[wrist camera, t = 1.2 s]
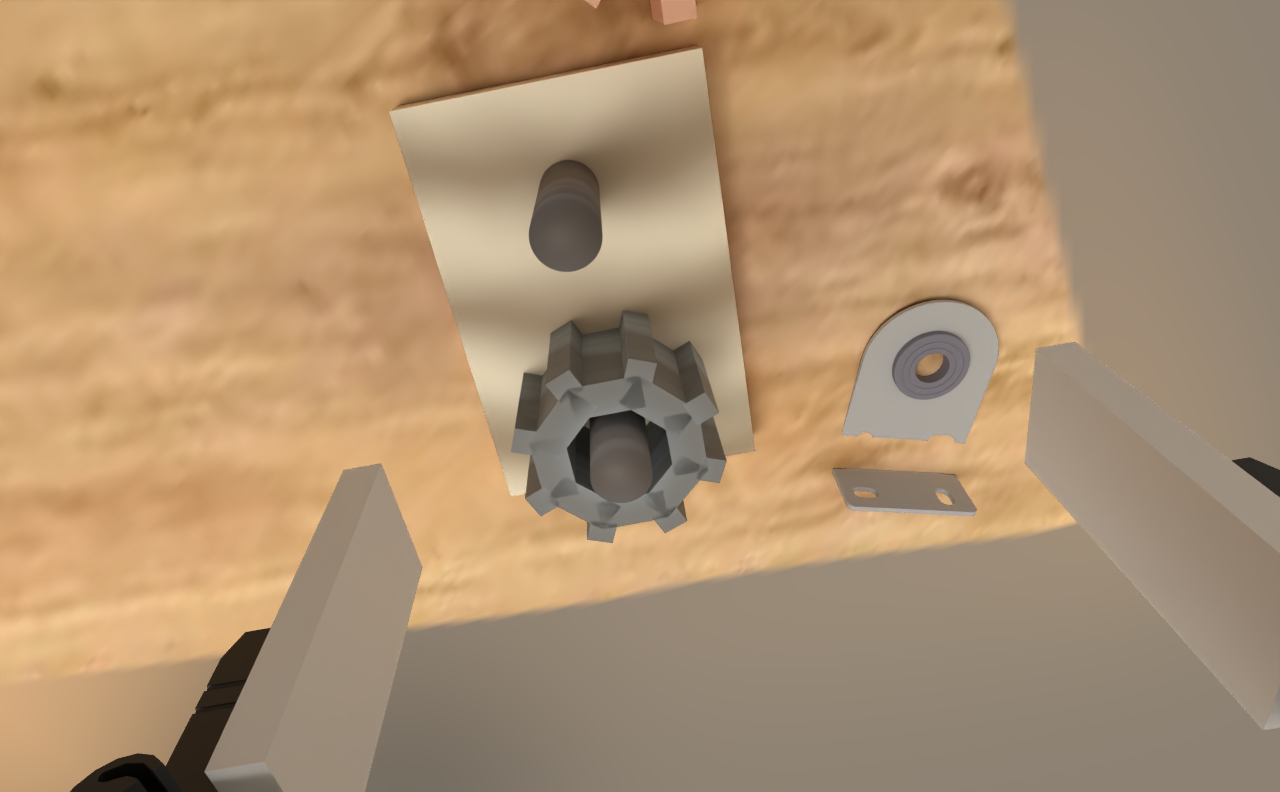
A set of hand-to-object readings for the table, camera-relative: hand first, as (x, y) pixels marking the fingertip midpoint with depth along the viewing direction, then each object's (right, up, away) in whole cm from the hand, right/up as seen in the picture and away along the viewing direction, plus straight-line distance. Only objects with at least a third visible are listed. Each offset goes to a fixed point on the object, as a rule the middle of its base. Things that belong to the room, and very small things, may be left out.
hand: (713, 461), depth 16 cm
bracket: (+12, +1, +23) cm, 26 cm away
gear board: (-4, +6, +19) cm, 20 cm away
